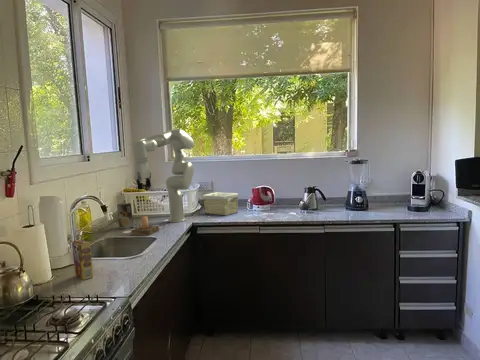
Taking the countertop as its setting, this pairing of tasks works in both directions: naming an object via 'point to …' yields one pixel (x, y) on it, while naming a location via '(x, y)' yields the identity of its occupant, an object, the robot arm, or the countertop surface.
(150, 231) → the hole block
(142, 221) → the peg
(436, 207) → the countertop surface
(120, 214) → the coffee box
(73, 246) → the candy box
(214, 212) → the storage basket
